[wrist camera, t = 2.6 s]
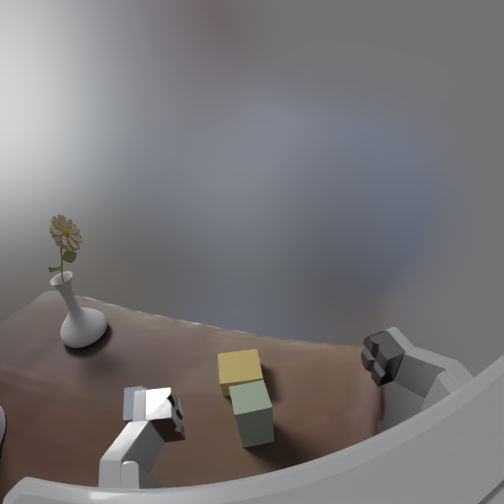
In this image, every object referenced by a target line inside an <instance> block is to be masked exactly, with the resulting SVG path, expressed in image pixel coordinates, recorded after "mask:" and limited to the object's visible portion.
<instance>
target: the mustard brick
mask: <svg viewBox="0 0 504 504" xmlns="http://www.w3.org/2000/svg"><path fill="white" fill-rule="evenodd" d="M218 361H219V377H220V386H221V389H222V393H223V397H224V396H231V395H230V390H229V387H230V386H236V385H241V384H246V383H251V382H256V381H260V380H263V376H262V371H261V366H260V361H259V356H258V351H257V349H252V350H244V351H237V352H229V353H221V354H218Z"/></svg>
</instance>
